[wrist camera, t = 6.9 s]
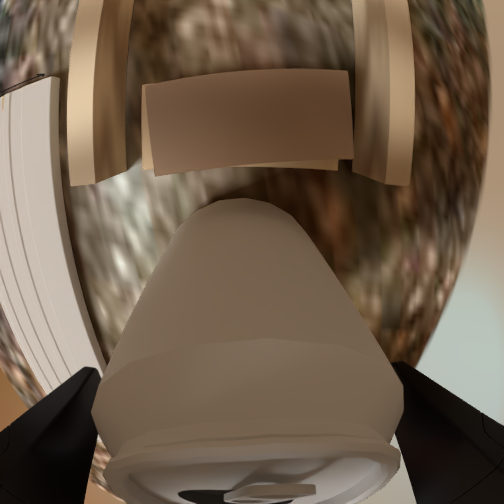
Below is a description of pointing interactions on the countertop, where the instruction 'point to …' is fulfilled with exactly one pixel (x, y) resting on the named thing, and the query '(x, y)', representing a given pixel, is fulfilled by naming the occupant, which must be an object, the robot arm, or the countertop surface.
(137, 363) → the can
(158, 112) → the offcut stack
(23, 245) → the baseboard
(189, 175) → the countertop surface
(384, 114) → the rack
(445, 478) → the robot arm
